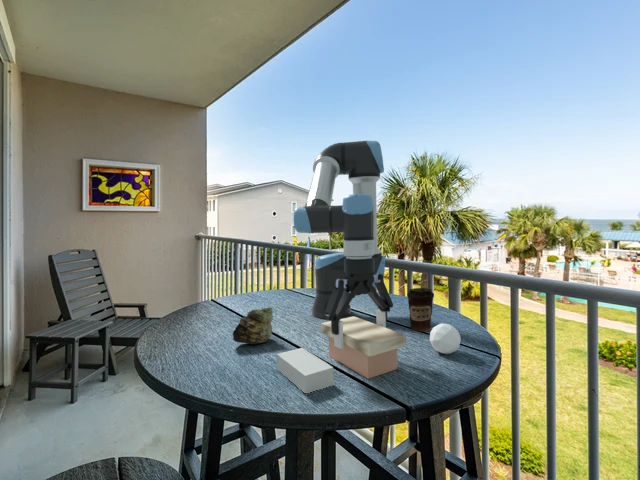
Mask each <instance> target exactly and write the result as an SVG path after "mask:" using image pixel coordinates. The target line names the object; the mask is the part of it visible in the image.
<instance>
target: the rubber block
mask: <svg viewBox="0 0 640 480" xmlns="http://www.w3.org/2000/svg"><path fill="white" fill-rule="evenodd" d="M278 370H279V371H280V372H281V373H282V374H283V375H284V376H286V377H287V378H288V379H289V380H290V381H292V382H293V383H294V384H295V385H296V386H297V387H299V388H300V389H301V390H302V391H303V392H304V393H309V392H312V391H315V390H318V391H320V390H319V389H321V390H323V388H324V389H327V388H330V387H333V386H335V385H334V367H333V366H332V365H331V364H330V363H327V362H326V361H324V360H323V359H322V358H321V359H320V357H317V356H316V355H314V354H313V353H311V352H310V351H307V350H306V348H303V347H299V348H296V349H292V350H287V351H285V352H280V353H276V371H278ZM279 371H278V372H279ZM280 372H279V373H280ZM281 373H280V374H281ZM282 374H281V375H282ZM283 375H282V376H283ZM286 377H285V378H286ZM287 378H286V379H287ZM288 379H287V380H288ZM289 380H288V381H289ZM293 383H292V384H293ZM294 384H293V385H294ZM295 385H294V386H295ZM296 386H295V387H296ZM329 386H330V387H329ZM297 387H296V388H297ZM326 387H327V388H326ZM300 389H299V390H300ZM301 390H300V391H301ZM302 391H301V392H302ZM303 392H302V393H303ZM315 392H316V391H315ZM304 393H303V394H304ZM312 393H313V392H312ZM309 394H310V393H309Z"/></svg>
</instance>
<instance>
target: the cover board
mask: <svg viewBox="0 0 640 480" xmlns="http://www.w3.org/2000/svg"><path fill="white" fill-rule="evenodd" d="M340 321H343V343H344V344H346V345H348V346H350V347H352V348H354V349H356V350H358V351H360V352H362V353H364V354H366V355H368V356H370V357H371V356H374V355H377V354H381V353H384V352H387V351H390V350H394V349H397V350H398V349H400V348H403V347H406V346H407V334H403V333H401V332H398V331H395V330H392V329H390V328H389V327H386V328H385V327H382V326H379V325H377V323H374V322H371V321H368V320H365V319H362V318H359V317H357V316H354V315H353V316H347V317H343V318H341V319H340ZM320 325H321V326H320V330H321V333H322V334H324V335H326V336H327V337H329V336H330V337H332V338H334V334H332V332H331V321H330V320H328V321H324V322H321V323H320Z"/></svg>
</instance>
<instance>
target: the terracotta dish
mask: <svg viewBox="0 0 640 480" xmlns="http://www.w3.org/2000/svg"><path fill="white" fill-rule="evenodd" d="M328 356H329V357H330V358H332V359H334V360H335V361H337V362H339V363H341V364H343V365H344V366H345V367H348V368H349V369H351V370H352V371H353V372H356V373H357V374H359V375H361V376H363V378H364V377H365V378H366V379H368V380H369V379H371V378H375V377H377V376H381V375H383V374H386V373H389V372H392V371H395V370H397V369H398V348H397V349H394V350H390V351H387V352H384V353H381V354H377V355H374V356H371V357H370V356H368V355H366V354H364V353H362V352H360V351H358V350H356V349H354V348H352V347H350V346H348V345H346V344H344V343H343V349H340V348H338V347H336V346H334V338H332V337H330V336H328Z"/></svg>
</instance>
